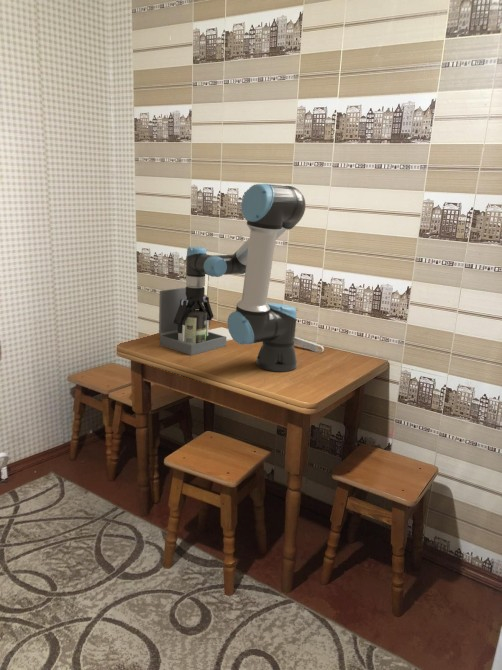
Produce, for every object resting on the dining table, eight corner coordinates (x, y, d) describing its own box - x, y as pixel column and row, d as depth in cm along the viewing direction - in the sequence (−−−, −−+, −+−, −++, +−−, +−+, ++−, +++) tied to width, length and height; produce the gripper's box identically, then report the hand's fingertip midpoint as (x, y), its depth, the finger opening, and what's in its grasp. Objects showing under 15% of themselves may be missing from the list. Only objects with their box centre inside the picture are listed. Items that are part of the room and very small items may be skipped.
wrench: (320, 360, 218) (258, 338, 232) (322, 359, 219) (260, 337, 233) (324, 341, 215) (261, 320, 229) (326, 340, 217) (263, 320, 231)
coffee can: (204, 342, 222) (205, 309, 219) (207, 349, 213) (208, 315, 209) (179, 342, 220) (180, 309, 216) (181, 349, 210) (182, 314, 207)
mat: (247, 335, 237) (247, 334, 236) (223, 341, 224) (223, 340, 224) (221, 328, 246) (221, 327, 246) (196, 333, 234) (196, 332, 234)
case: (226, 346, 218) (228, 293, 213) (191, 355, 203) (193, 299, 198) (193, 336, 230) (194, 286, 224) (157, 344, 215) (158, 290, 209)
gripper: (210, 282, 222) (208, 331, 227) (165, 287, 203) (164, 341, 208) (223, 284, 217) (221, 334, 223) (178, 290, 198) (177, 345, 204)
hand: (193, 338), depth 215 cm, fingers open, 13 cm apart
